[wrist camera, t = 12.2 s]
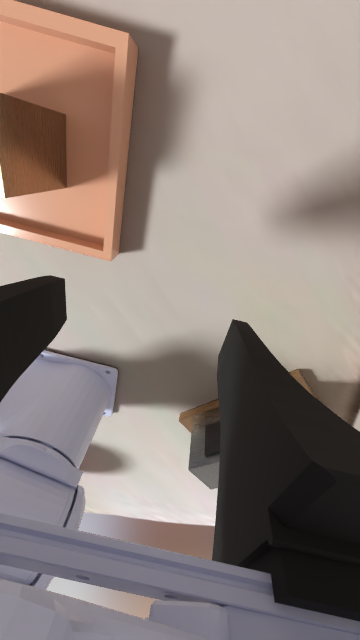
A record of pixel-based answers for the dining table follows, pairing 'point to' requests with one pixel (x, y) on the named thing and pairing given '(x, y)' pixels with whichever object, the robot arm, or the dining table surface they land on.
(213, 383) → the dining table surface
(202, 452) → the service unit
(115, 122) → the terracotta tray
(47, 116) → the wooden block with knob
